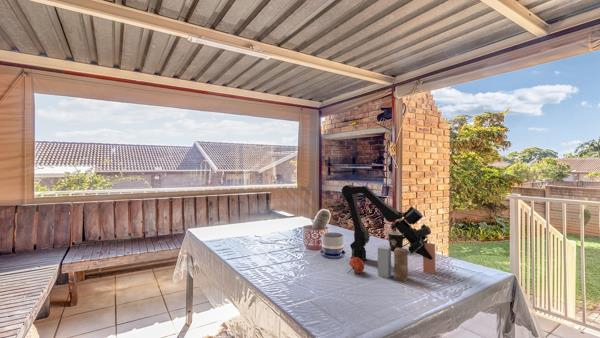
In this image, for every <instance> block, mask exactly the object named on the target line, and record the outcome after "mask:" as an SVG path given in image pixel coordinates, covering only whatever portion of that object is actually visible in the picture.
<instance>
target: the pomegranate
mask: <svg viewBox="0 0 600 338" xmlns="http://www.w3.org/2000/svg"><path fill="white" fill-rule="evenodd" d="M363 259H364V258H363ZM363 259H360V258H357V257H353V258H352V259H351V258H350V259H349V263H348V264H349V266H350V267H351V269H350V270H349V271H348V272H347V274H349V273H350V272H351V271H352V270H353V271H354V272H356V274H357V275H358V274H361V273H363V271H364V270H365V263H364V261H363Z"/></svg>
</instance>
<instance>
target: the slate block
mask: <svg viewBox="0 0 600 338" xmlns="http://www.w3.org/2000/svg"><path fill="white" fill-rule="evenodd" d="M391 275H392V251H391V247H390V245H381V244H380V246H378V247H377V276H378V277H381V278H386V279H389V278H390V277H391Z"/></svg>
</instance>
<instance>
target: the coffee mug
mask: <svg viewBox="0 0 600 338" xmlns="http://www.w3.org/2000/svg"><path fill="white" fill-rule="evenodd" d="M387 237H388V244H389V245H388V246H389V247H391V252H392V251H393V253H394V250H395V249H396V248H404V247H405V246H408V245H410V242H409V241H408V242H407V243H406V244H404V243H403V242H404V241H405V239H404V238H403V237H404V236H403V234H401V233H400V232H399V231H389V232H387Z"/></svg>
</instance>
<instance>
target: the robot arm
mask: <svg viewBox="0 0 600 338" xmlns="http://www.w3.org/2000/svg"><path fill="white" fill-rule="evenodd" d="M341 193H342V196H343V199H344V200H345V201H346V203H347V206H348V208H349V213H350V216H351V221H352V224H353V225H352V226H353V229H354V232H353V238H354V241H353V242H352V243H350V244H349V246H350V248H351V256H350V260H351V259H352V258H353V257H357V258H360V259H363V258H364V259H363V262H366V261H368V259H367V250H366V245H367V244H369V242H370V238H371V236H370V233H369V229H365V228H364V224H363V222H362V217H361V213H360V211H359V206H358V202H357V195H359V194H362V195H363V196H364V198H366V199H367V200H368V201H369V202H371V203H372V205H374V206H375V207H376V208H377V209H378V211H380V213H381V215H382V216H383V218H384V219H385V221H387V222H389V223H390V224H391V225H390V226H391V228H390V229H391V230H392V231H393V230H394V229H396V230H397V232H400V233H401V234H403V238H404V240H406V241H408V242H410V243H409V246H408V248H407V251H408V252H410V254H413V253H414V254H416V255H417V254H418V255H419V256H421V257H423V256H424V257H426V258H428V259H430V260H432V259H433V258H432V257H431V255H430V254H429V252H428V251H427V250H426V248H425V243H429V242H428V241H429V240H428V236H429V235H431V233H432V231H431V228H430V227H429V225H426V224H422V225H421V226H420V228H418V229H417V228H416V227H415V228H414V227H412V226H411V225H413V226H414V225H415V224H417V223H418V222H419V221H420V220H421V219H422V218H424V216H423V214H422V212H420V211H419V210H418V209H416V208H415V207H413V206H410V207H409V208H408V210H406V211H405V212H402V211H399V210H397V209H396V208H395V207H393V206H391V205H389V204H388V203H386V202H385V201H383V200H382V199H381V198H380V197H379V196H378V195H377V194H376V193H375V192H374V191H372V189H370V188H369V187H368V186H367V185H360V186H355V185H354V184H347V185H344V186H343V187H342V188H341ZM402 218H403V219H402Z"/></svg>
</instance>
